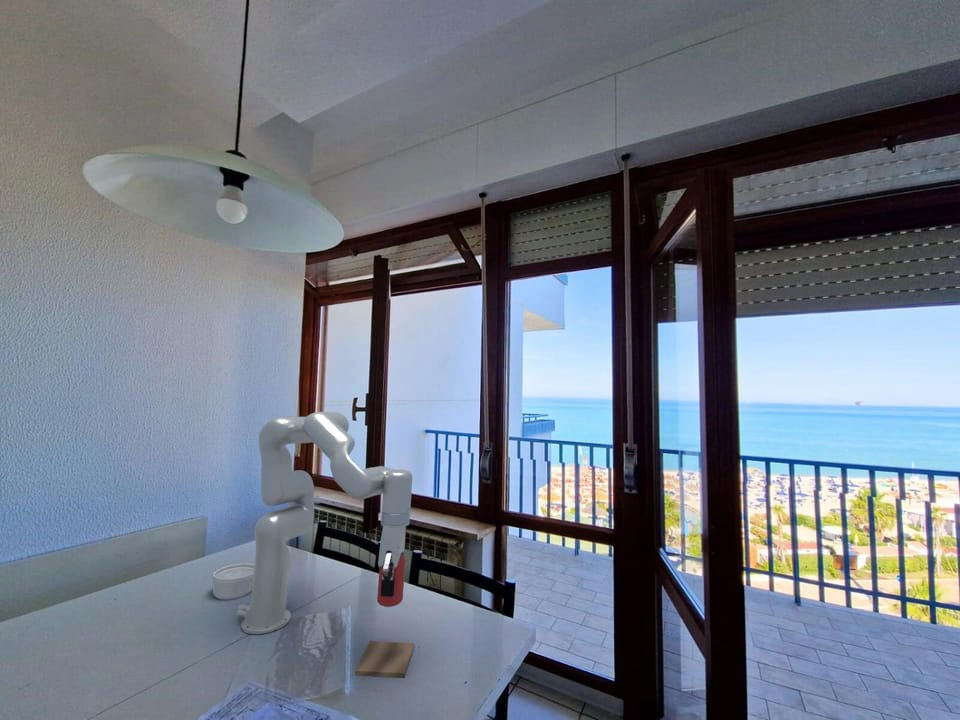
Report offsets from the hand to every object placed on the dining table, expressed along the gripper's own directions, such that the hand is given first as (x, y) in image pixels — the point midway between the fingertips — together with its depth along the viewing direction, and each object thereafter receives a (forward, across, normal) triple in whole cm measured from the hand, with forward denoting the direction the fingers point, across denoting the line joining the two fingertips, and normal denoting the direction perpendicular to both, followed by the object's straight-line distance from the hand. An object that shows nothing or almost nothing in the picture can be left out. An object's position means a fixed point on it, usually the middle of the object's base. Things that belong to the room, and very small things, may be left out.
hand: (390, 588), depth 100 cm
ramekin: (+18, -31, -60) cm, 70 cm away
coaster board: (+17, 0, 0) cm, 17 cm away
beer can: (+3, 0, 0) cm, 3 cm away
